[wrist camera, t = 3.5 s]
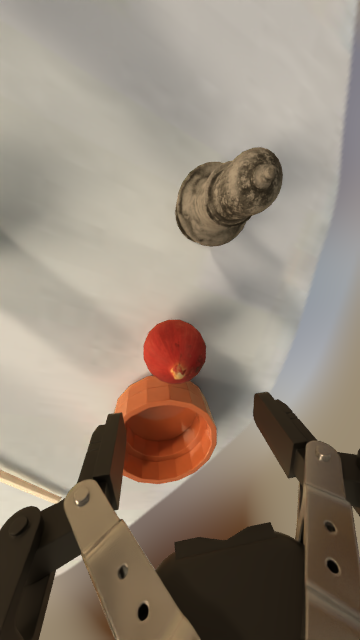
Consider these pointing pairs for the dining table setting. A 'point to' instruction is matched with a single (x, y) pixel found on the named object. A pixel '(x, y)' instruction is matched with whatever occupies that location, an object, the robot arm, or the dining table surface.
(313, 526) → the robot arm
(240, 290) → the dining table surface
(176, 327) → the onion
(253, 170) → the pawn-shaped pepper mill
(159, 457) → the bowl
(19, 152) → the dining table surface
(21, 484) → the fork
